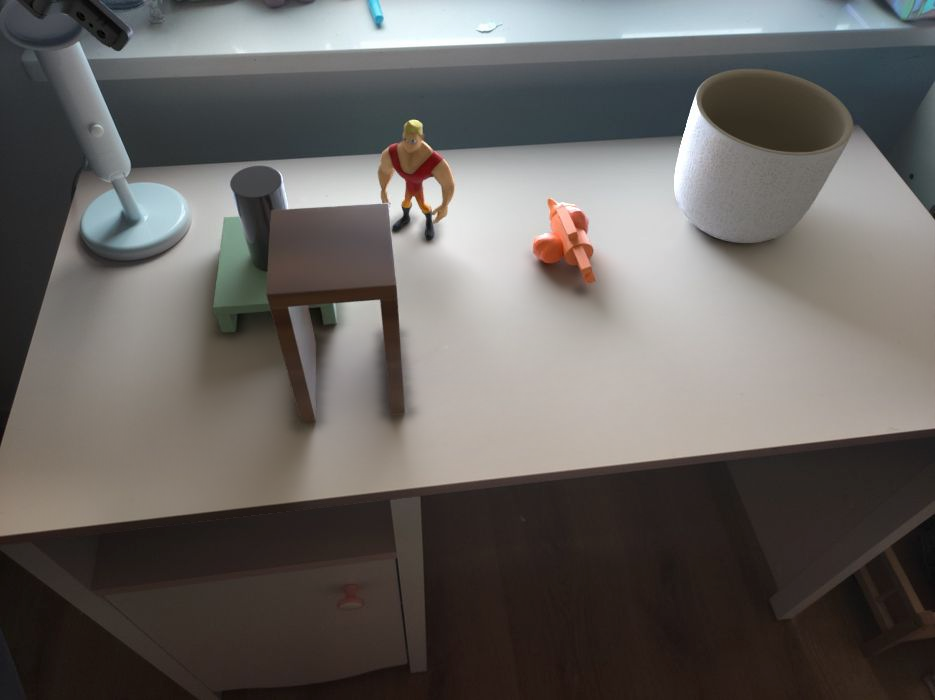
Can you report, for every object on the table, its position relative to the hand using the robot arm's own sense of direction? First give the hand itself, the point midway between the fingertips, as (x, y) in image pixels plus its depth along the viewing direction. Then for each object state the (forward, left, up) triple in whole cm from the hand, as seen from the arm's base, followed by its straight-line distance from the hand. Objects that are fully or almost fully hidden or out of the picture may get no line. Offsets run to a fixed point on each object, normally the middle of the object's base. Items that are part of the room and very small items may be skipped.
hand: (156, 16), depth 55 cm
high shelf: (-2, -18, -31) cm, 36 cm away
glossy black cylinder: (+3, -3, -27) cm, 27 cm away
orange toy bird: (+26, -27, -31) cm, 48 cm away
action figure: (+20, -10, -31) cm, 38 cm away
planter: (+45, -41, -31) cm, 68 cm away
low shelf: (+4, -3, -31) cm, 31 cm away
